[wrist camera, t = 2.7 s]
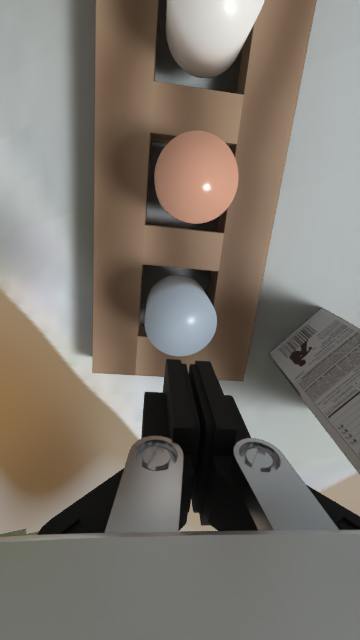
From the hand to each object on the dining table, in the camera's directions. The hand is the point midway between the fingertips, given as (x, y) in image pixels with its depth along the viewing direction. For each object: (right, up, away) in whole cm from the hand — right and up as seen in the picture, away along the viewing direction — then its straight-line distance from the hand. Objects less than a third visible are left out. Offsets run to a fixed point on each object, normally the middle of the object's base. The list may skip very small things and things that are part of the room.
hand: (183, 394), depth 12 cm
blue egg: (0, +4, +11) cm, 11 cm away
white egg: (+1, +19, +5) cm, 20 cm away
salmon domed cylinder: (0, +11, +8) cm, 14 cm away
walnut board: (0, +12, +10) cm, 16 cm away
